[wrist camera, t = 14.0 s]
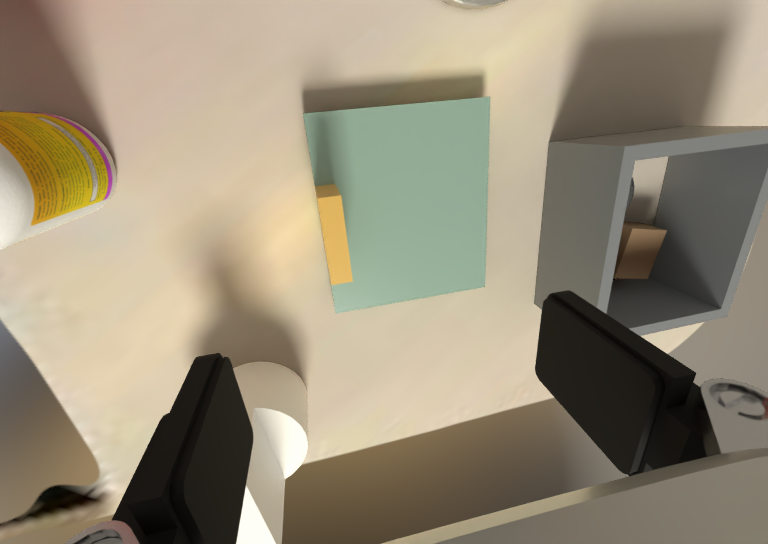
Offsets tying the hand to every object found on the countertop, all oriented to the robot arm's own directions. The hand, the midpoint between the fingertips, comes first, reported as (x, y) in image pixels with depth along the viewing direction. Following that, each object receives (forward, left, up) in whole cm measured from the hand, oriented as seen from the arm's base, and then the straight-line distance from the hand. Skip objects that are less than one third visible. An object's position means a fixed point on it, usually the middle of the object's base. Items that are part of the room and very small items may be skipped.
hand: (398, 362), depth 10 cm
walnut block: (+7, +28, -21) cm, 36 cm away
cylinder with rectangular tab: (+17, -10, -21) cm, 29 cm away
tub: (+4, +26, -21) cm, 34 cm away
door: (+1, +5, -21) cm, 22 cm away
